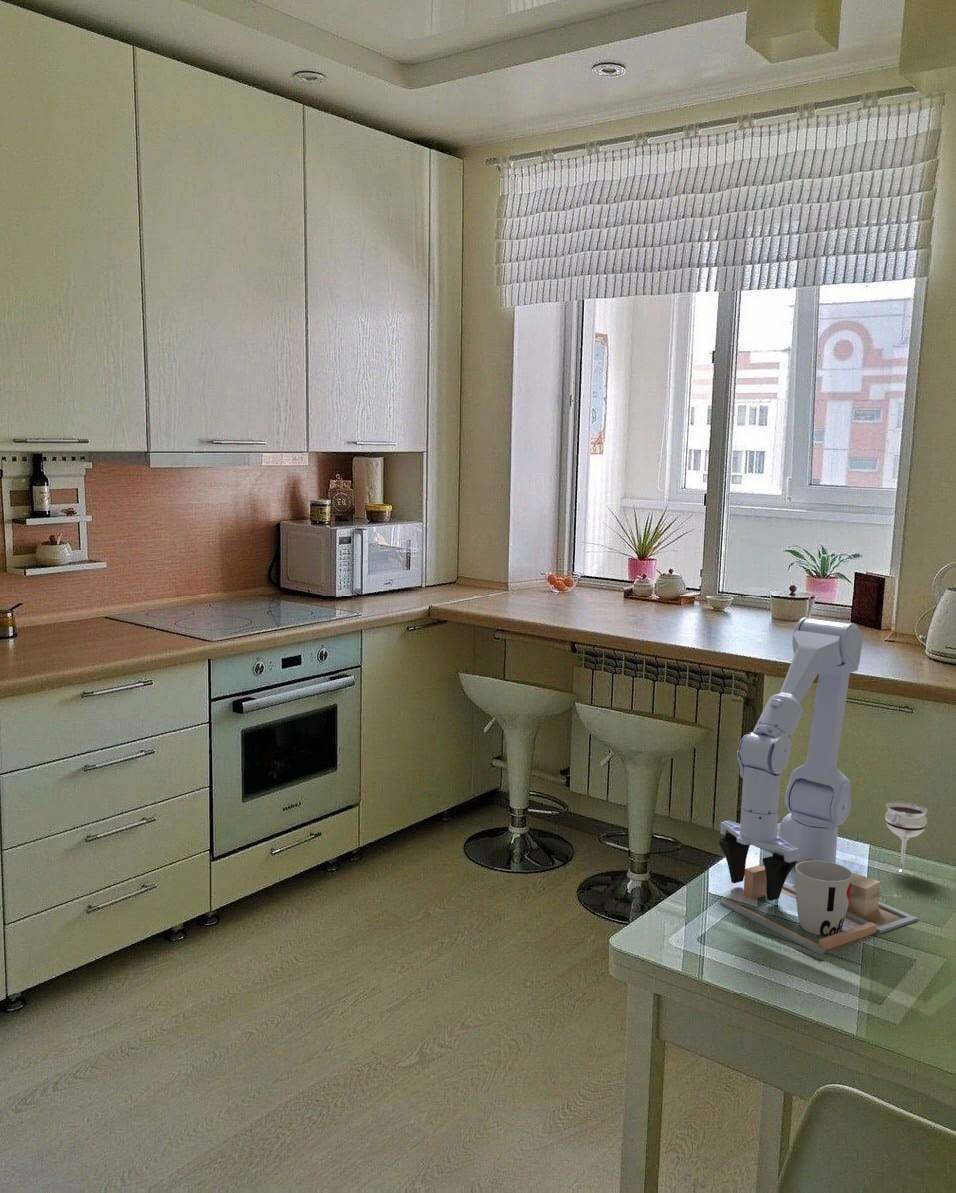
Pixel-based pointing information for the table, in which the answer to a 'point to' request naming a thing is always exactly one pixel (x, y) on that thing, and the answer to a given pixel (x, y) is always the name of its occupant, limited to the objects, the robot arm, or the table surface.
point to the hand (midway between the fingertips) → (754, 890)
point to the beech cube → (863, 895)
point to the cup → (822, 896)
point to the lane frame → (906, 920)
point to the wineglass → (905, 823)
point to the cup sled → (757, 888)
